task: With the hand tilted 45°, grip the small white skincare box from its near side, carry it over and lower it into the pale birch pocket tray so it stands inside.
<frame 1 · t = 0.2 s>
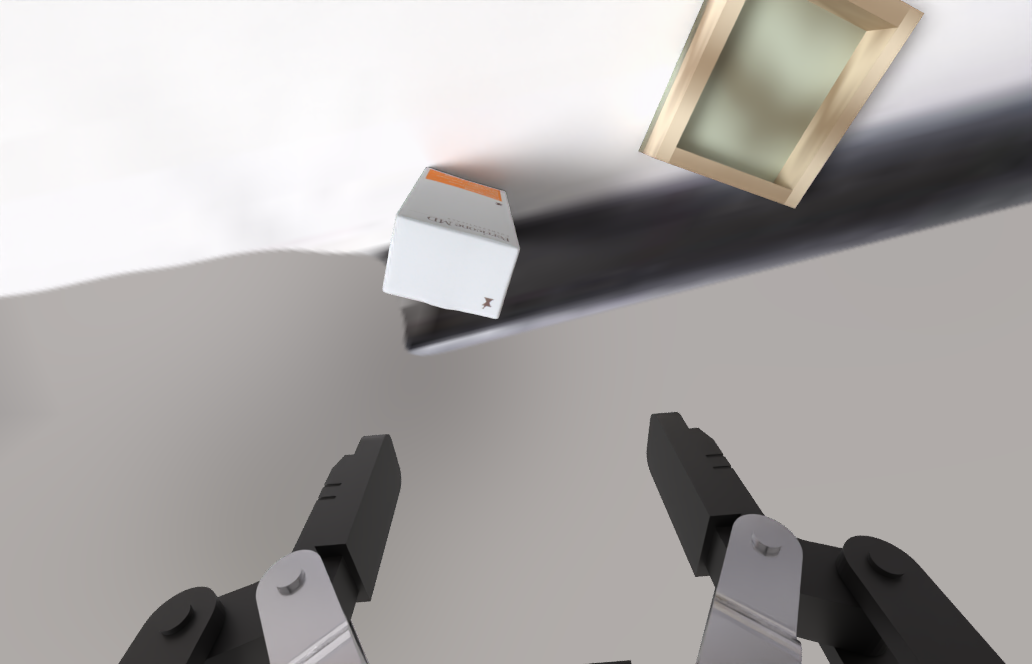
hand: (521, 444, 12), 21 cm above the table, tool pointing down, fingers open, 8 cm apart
pocket tray: (752, 89, 27), on the table
skincare box: (459, 205, 29), on the table
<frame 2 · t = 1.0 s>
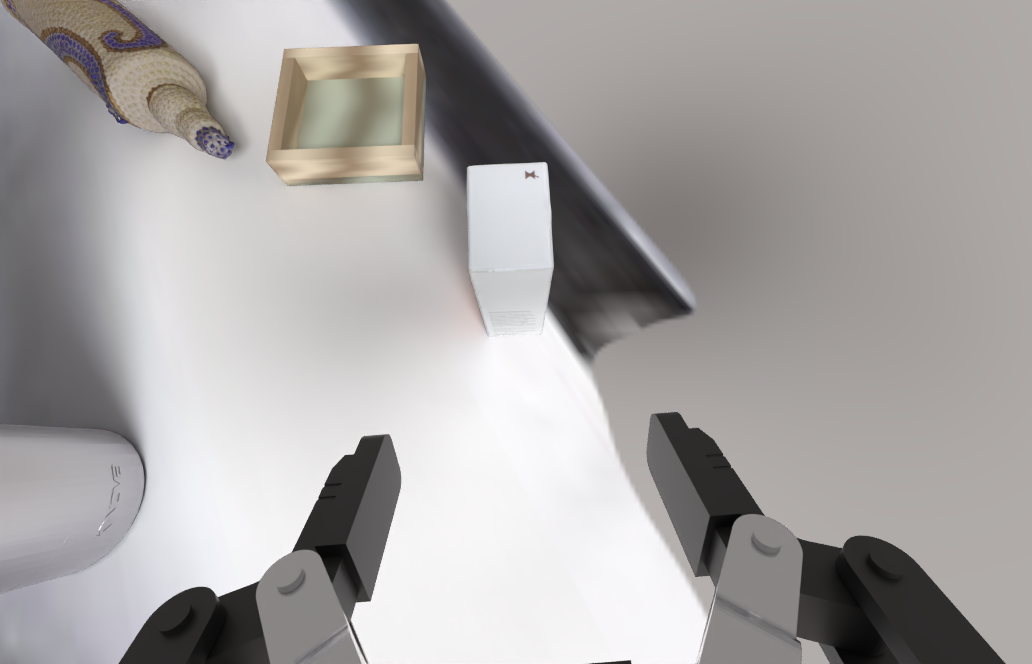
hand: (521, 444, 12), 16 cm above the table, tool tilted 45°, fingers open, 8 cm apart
pocket tray: (359, 127, 36), on the table
skincare box: (513, 301, 31), on the table
decorative bottle: (152, 101, 37), on the table
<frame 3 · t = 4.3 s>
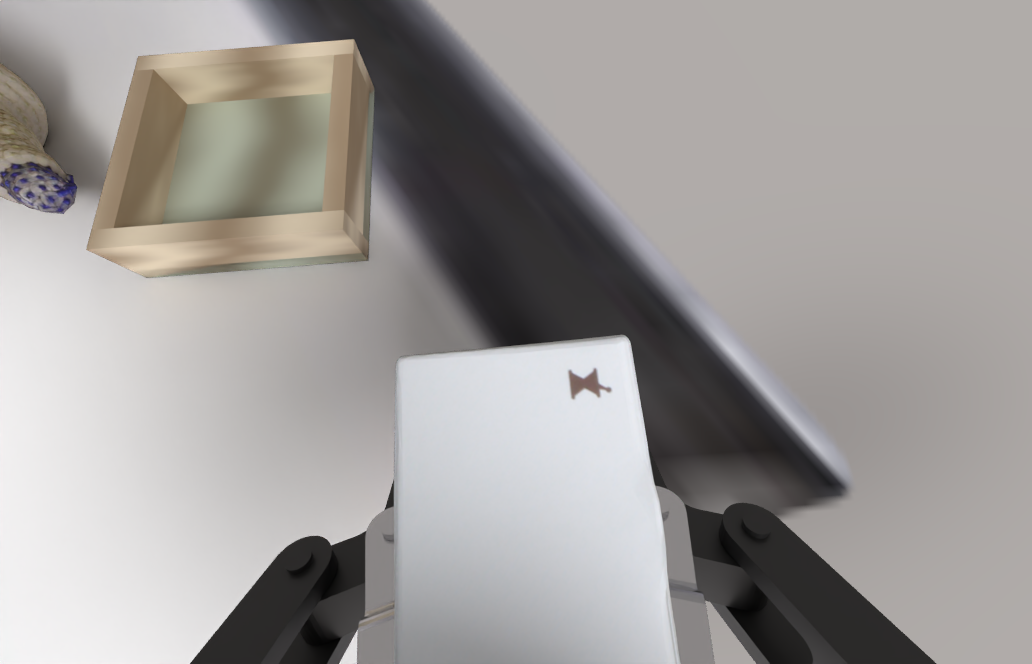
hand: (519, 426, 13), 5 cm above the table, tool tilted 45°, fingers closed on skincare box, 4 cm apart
pocket tray: (269, 176, 22), on the table
skincare box: (525, 479, 18), on the table, touching gripper
when the fingers open (7 cm above the table, at t = 9.6 s): skincare box drops 1 cm, resting on pocket tray.
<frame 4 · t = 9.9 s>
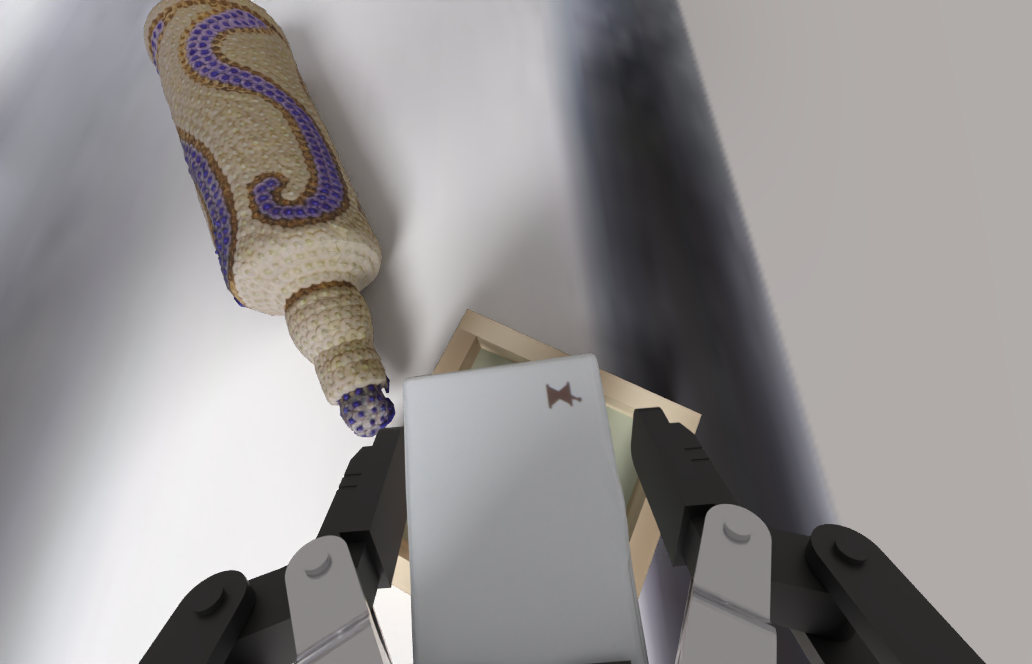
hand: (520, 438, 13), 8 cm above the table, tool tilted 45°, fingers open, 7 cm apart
pocket tray: (525, 476, 20), on the table
skincare box: (523, 477, 19), point 1 cm above the table, touching pocket tray
decorative bottle: (299, 234, 24), on the table
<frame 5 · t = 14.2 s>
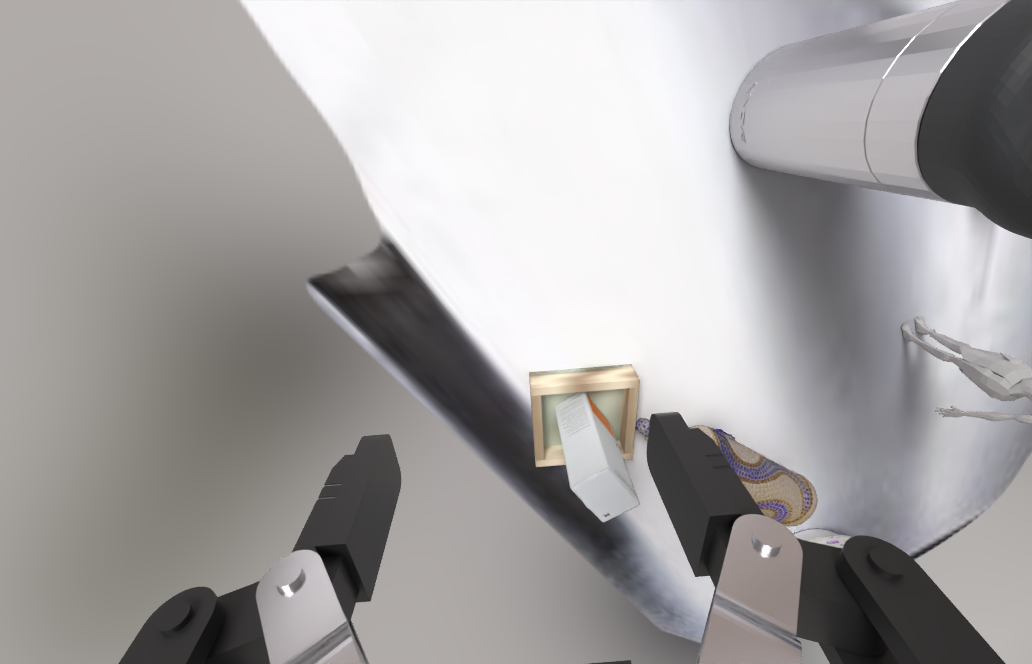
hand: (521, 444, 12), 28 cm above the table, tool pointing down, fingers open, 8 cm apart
pocket tray: (579, 408, 48), on the table
paper bowls: (802, 546, 62), on the table
skincare box: (581, 411, 47), point 1 cm above the table, touching pocket tray
decorative bottle: (716, 442, 51), on the table
human figurine: (911, 331, 44), on the table
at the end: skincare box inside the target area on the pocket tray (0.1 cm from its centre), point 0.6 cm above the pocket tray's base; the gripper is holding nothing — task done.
